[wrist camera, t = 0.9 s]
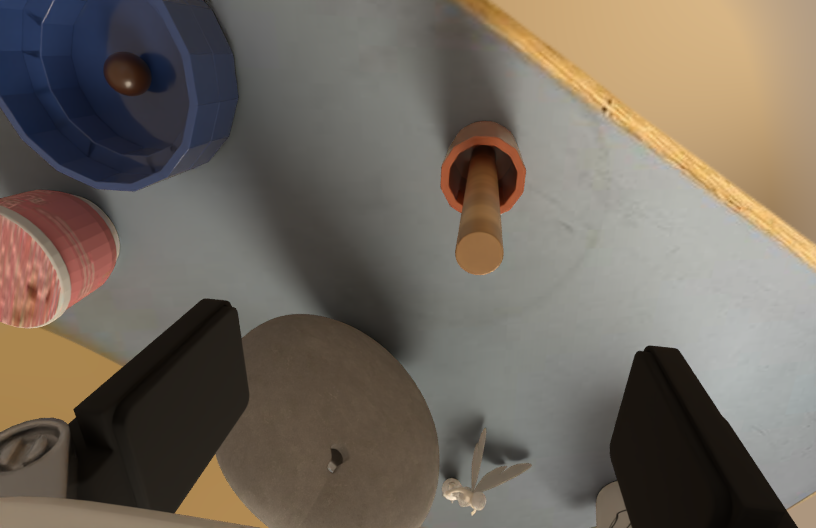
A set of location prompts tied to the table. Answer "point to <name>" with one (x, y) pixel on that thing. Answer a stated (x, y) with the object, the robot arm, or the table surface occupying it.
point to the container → (51, 254)
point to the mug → (611, 508)
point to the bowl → (103, 106)
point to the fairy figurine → (489, 481)
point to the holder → (506, 159)
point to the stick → (480, 216)
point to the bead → (127, 73)
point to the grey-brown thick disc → (330, 431)
